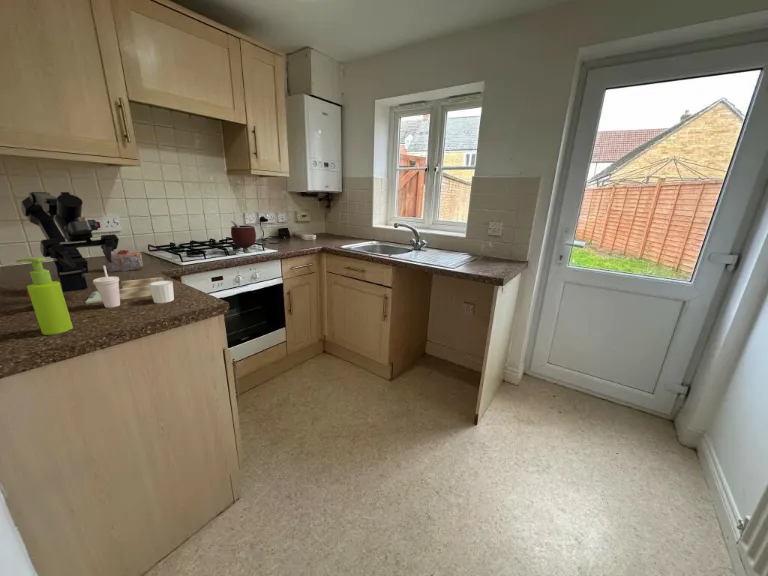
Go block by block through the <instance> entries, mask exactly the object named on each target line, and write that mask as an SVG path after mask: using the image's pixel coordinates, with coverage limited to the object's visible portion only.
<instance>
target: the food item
mask: <svg viewBox="0 0 768 576" xmlns="http://www.w3.org/2000/svg"><path fill="white" fill-rule="evenodd" d="M111 257H112V263H110V262H109V261H108V260H107V258H106V257H105V256H104V259H105V263H106V268H107V272H108V273H116V272H115V271H117V272H129V270H130V271H138V270H141V269H143V267H144V263H143V258H142V252H140V251H139V252H135V251H134V252H130V251H129V249H127V250H126V249H122V250H119V251H118V252H115V253H114V252H111Z"/></svg>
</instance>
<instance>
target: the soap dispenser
mask: <svg viewBox="0 0 768 576" xmlns="http://www.w3.org/2000/svg"><path fill="white" fill-rule="evenodd" d="M45 261H46V257H25V258H19V259H16V260H15V262H16V263H21V262H28V263H29V262H31V265H32V268H33V270H32V271H30V272H29V274H30V278H31V281H32V283H31V284H29V285H26V286H27V287H26V289H27V291H28V292H29V295H30V298H31V300H30V301H31V303H32V307H33V309H34V310H33V311H34V314H35V316H36V319H37V322H38V325H39V328H40V331H41V334H42V335H45V336H46V335H47V336H49V335H58V334H61V333H65V332H67V331H70V330H72V329H73V327H74V326H73V322H72V320H71V315H70V313H69V309H68V306H67V303H66V299H65V296H64V292H62V291H63V288H62V285H61V282H59V281H58V280H56V281H53V280H52V276H51V273H50V271H49V269H46V268H44V266H43V262H45Z"/></svg>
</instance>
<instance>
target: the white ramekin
mask: <svg viewBox="0 0 768 576" xmlns="http://www.w3.org/2000/svg"><path fill="white" fill-rule="evenodd" d="M148 285H149V288H150V291H151V294H152V296H151V297H152V300H153V302H154V303H155V304H166V303H170V302H172V301H174V300H175V296H174V295H175V294H174V283H173V280H167V279H165V280H164V281H156V282H152V283H150V284H148Z"/></svg>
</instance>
